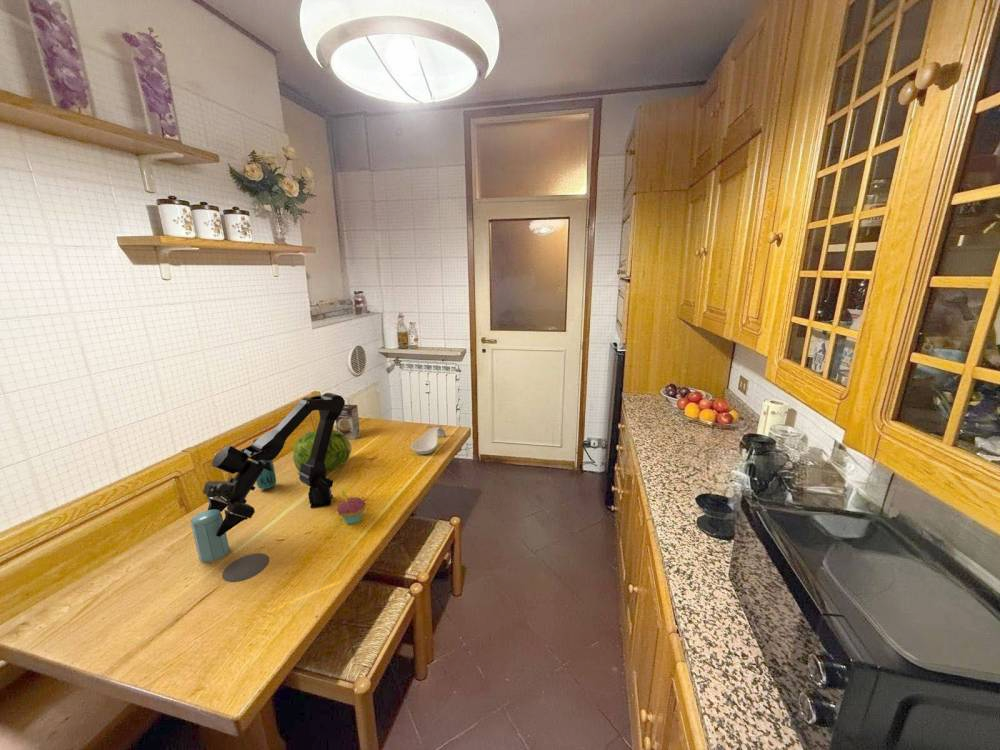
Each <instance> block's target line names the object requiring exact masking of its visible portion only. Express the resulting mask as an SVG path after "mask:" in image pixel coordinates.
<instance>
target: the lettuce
mask: <svg viewBox="0 0 1000 750" xmlns="http://www.w3.org/2000/svg"><path fill="white" fill-rule="evenodd" d="M316 432H317V430H313V431H309V432H307V433H305V434H304V435H302V436H301V437H300V438H299V439H298V440H297V442H296V443H295V444H294V446H293V449H292V458H293V462H294V466H295V467H296V469H297V471H298V472H299V471H300V468H301V463H306V462H307V461H308V460H309V458H310V455H311V451H312V447H313V444H314V440H315V436H316ZM351 453H352V444H351V442H350V440H349V439H347V438H346V437H345V436H344V435H343V434H341V433H339V432H338V431H337V430H334V429H333V430H332V434H331V438H330V442H329V446H328V449H327V453H326V457H325V466H326V473H329V472H332V471H334V470H336V469H337V468H339V467H341V466H342V465H343V464H344V463H346V462H347V461H348V459H349V457H350V455H351Z"/></svg>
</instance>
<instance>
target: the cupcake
mask: <svg viewBox="0 0 1000 750" xmlns="http://www.w3.org/2000/svg"><path fill="white" fill-rule="evenodd" d="M341 489H342V491H341V492H342V494H343V498H344V499H343V501H341V502H340V504H339V505H338V506H337V510H336V511H337V513H338V515H339V516H340V517H342V519H343V520H344V522H345V524H347V525H353V524H356V523H358V522H359V521H360V520H361V517H362V514H363V513H364V512H365V510H366V508H367V506H366V504H367V503H366V502H365V500H364V499H362V498H361V497H349V498H348V497H347V494H346V492H345V489H344V488H343V487H342V488H341Z"/></svg>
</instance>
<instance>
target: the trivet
mask: <svg viewBox="0 0 1000 750" xmlns="http://www.w3.org/2000/svg"><path fill="white" fill-rule="evenodd" d="M269 562H270V557H269V556H268V555H267V554H265V553H259V552H258V553H257V552H256V553H250V554H247V555H244V556H242V557H238V558H237V559H235V560H233V561H232V562H230V564H228V565H227V566H226V567H225V568H224V570H223V572H222V576H221V577H222V579H223V580H224V581H225V582H228V583H237V582H239V583H240V582H243V581H246V580H249V579H251V578H253V577H255V576H257V575H259V574H260V573H261V572H263V571H264V570H265V569H266V568H267V566H268V565H269V564H270V563H269Z"/></svg>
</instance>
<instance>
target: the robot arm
mask: <svg viewBox="0 0 1000 750" xmlns="http://www.w3.org/2000/svg"><path fill="white" fill-rule="evenodd" d="M345 403H346V400H345V399H344V397H343V396H342V395H338V394H335V393H332V392H326V393H323V394H322V395H315V396H311V397H306V396H305V397H303V398H301V399H300V401H299V402H298V404H297V405H296V406H295V407H294V408H293V409H292V410H290V412H289V413H288V414H287V415H286V416H285V417H284V418H283V419H282V420H281V421H280V422H279V423H278V425H276V427H274V429H272V430H270V431H268V432H267V433H265V434H262V436H260V437H259V439H258V438H257V439H258V440H256V441H255V442H254V443H253V442H252V444H251V445H248V446H246V447H244V448H242V449H238V448H236V447H234V446H232V445H230V444H227V445H226V446H225V448H223V449H220V450H219V451H218V452H217V453H216V454H215V455H214V457H213V459H212V462H211V465H212V468H215V469H218V470H220V471H223V472H226V473H229V474H232V475H234V474H236V475H235V476H234V477H233V476H230V477H229V478H228V479H227V481H226V480H225V481H222V480H221V481H220V480H216V481H215V480H212V481H211V480H209V481H205V484H204V487H203V491H202V494H204V495H206V499H207V501H208V508H207V510H206V511H208V510H219V511H220V512H221V513H222V512H223V511H224V515H225V517H224V518H223V522H222V524H221V526H220V528H219V530H218V532H217V534H216V536H218V537H220V536H222V535H223V534H224V533H226V534H227V532H228V531H230V530H231V529H232V528H234V527H236V526H237V525H239V524H240V523H242V522H244V521H247V520H248V519H252V517H253V516H254V515H255V513H256V511H255V507H253V506H252V505H250V504H249V503H247V502H248V500H247V499H246V498H247V496H248V495H249V493H250V491H255V489H256V487H255V484H256V483H257V479H258V478H259V476H260V475H261V473H262V472H263V470H264V469H266V470H268V471H272V469H271V466H270V462H269V460H275V459H276V458H277V457H278V456H279V454H280V453H281V452H282V450H283V448H284V447H285V444H286V441H287V439H288V438H289V437H290V436H291V435H292V433H294V431H295V430H296V429H297V428H298V427H299V426H300V425H301V424H302V423H303V422H304V421H305V419H307V417H308V416H309V415H310V414H311V413H312V412H313V411H318V413H319V420H318V421H319V422H318V425H317V429H316V431H317V432H316V436H315V440H314V444H313V447H312V451H311V455H310V458H309V460H308V461H307V462H306V463H301V468H300V471H298V473H297V474H298V475H299V478H298V479H299V480H300V482H301V483H303V484H304V485H306V486H307V487H309V489H308V492H307V495H308V501H309V504H310V506H309V507H310V508H311V509H312V508H314V509H315V508H321V507H326V506H331V504H332V501H333V498H334V495H333V494H332V489H331V488H333V484H334V480H332V479H331V478H328V477H326V476H327V472H326V466H325V457H326V453H327V449H328V446H329V442H330V438H331V434H332V430H334V425H335V423H336V419H337V418H338V417H339V415H340V414H341V412H342V410H343V408H344V405H346V404H345ZM260 460H265V462H262V461H260Z"/></svg>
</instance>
